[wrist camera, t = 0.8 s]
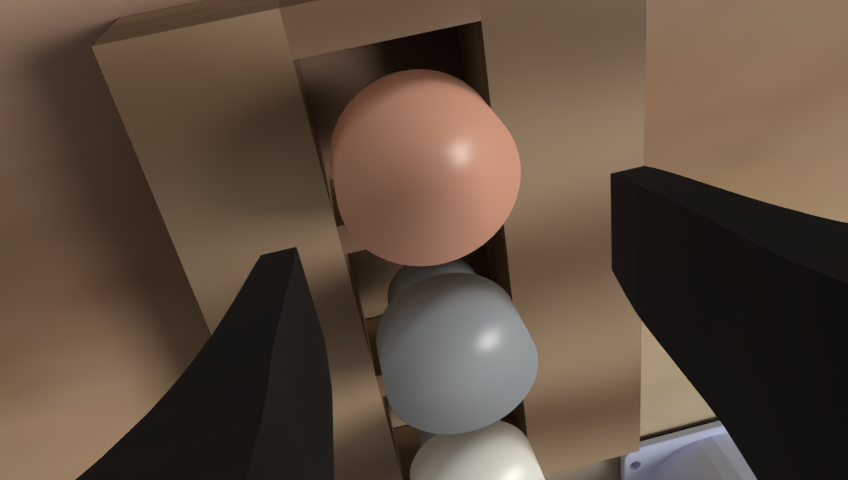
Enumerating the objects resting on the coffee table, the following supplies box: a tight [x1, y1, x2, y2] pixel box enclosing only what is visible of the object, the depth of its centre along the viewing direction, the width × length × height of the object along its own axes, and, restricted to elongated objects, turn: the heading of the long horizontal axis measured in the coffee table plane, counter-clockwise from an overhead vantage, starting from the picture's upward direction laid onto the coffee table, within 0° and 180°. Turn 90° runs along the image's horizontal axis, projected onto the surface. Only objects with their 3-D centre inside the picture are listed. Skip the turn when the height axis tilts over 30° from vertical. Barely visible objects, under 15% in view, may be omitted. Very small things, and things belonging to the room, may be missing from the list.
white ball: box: [410, 420, 545, 480], centre depth 22 cm, size 4×4×4 cm
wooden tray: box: [91, 0, 646, 480], centre depth 21 cm, size 18×13×3 cm
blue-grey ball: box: [376, 258, 538, 434], centre depth 19 cm, size 4×4×4 cm
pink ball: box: [330, 69, 521, 266], centre depth 16 cm, size 4×4×4 cm
